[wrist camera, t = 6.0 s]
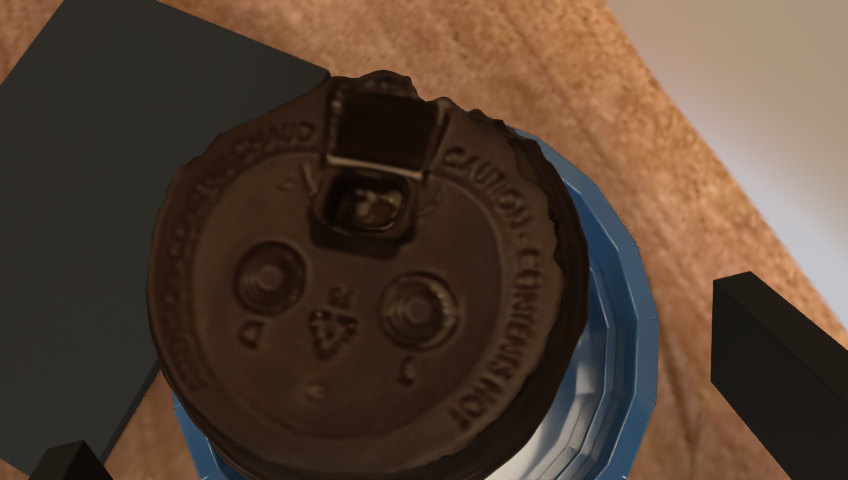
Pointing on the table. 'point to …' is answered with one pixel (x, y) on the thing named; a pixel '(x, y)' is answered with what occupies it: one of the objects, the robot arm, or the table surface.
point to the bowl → (588, 369)
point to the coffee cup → (367, 287)
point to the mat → (104, 201)
